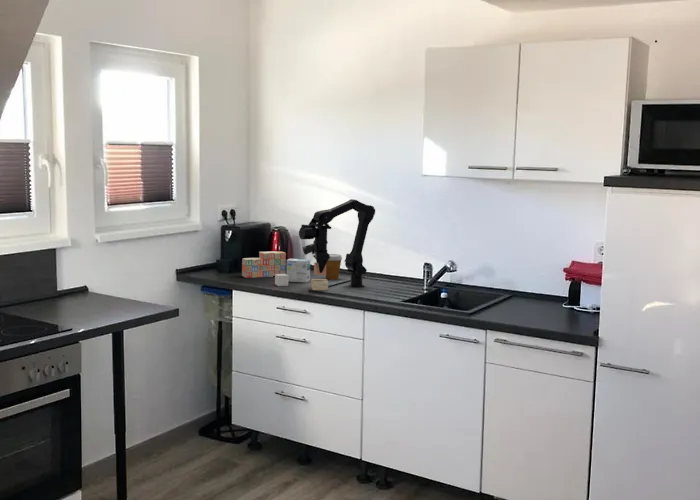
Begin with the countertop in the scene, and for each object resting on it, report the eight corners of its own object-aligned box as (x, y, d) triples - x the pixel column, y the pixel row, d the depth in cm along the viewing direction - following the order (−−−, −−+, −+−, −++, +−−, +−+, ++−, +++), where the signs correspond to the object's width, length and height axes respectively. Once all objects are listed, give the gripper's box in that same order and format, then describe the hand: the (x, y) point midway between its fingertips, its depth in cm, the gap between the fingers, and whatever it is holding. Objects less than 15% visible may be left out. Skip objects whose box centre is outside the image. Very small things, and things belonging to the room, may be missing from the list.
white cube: (274, 284, 368) (275, 274, 367) (284, 284, 370) (285, 273, 369) (278, 286, 363) (278, 275, 363) (288, 285, 365) (288, 275, 365)
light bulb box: (310, 280, 381) (310, 259, 380) (307, 282, 375) (307, 261, 373) (289, 279, 383) (289, 257, 382) (285, 281, 377) (286, 259, 375)
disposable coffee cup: (335, 276, 395) (336, 253, 394) (345, 279, 387) (345, 256, 385) (319, 277, 390) (320, 254, 389) (328, 280, 382) (329, 256, 381)
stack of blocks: (245, 278, 383) (246, 253, 381) (241, 276, 389) (242, 252, 387) (285, 276, 392) (286, 252, 391) (281, 274, 398) (281, 250, 396)
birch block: (311, 287, 363) (311, 279, 362) (325, 287, 364) (326, 279, 363) (313, 290, 356) (313, 281, 355) (327, 290, 357) (328, 281, 356)
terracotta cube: (314, 273, 361) (314, 262, 360) (324, 273, 362) (324, 262, 361) (315, 274, 356) (315, 264, 355) (326, 274, 357) (326, 264, 356)
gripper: (301, 236, 364) (300, 268, 366) (305, 241, 346) (305, 275, 348) (324, 236, 366) (324, 268, 368) (330, 241, 348) (329, 275, 350)
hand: (320, 271), depth 359 cm, fingers closed on terracotta cube, 5 cm apart
